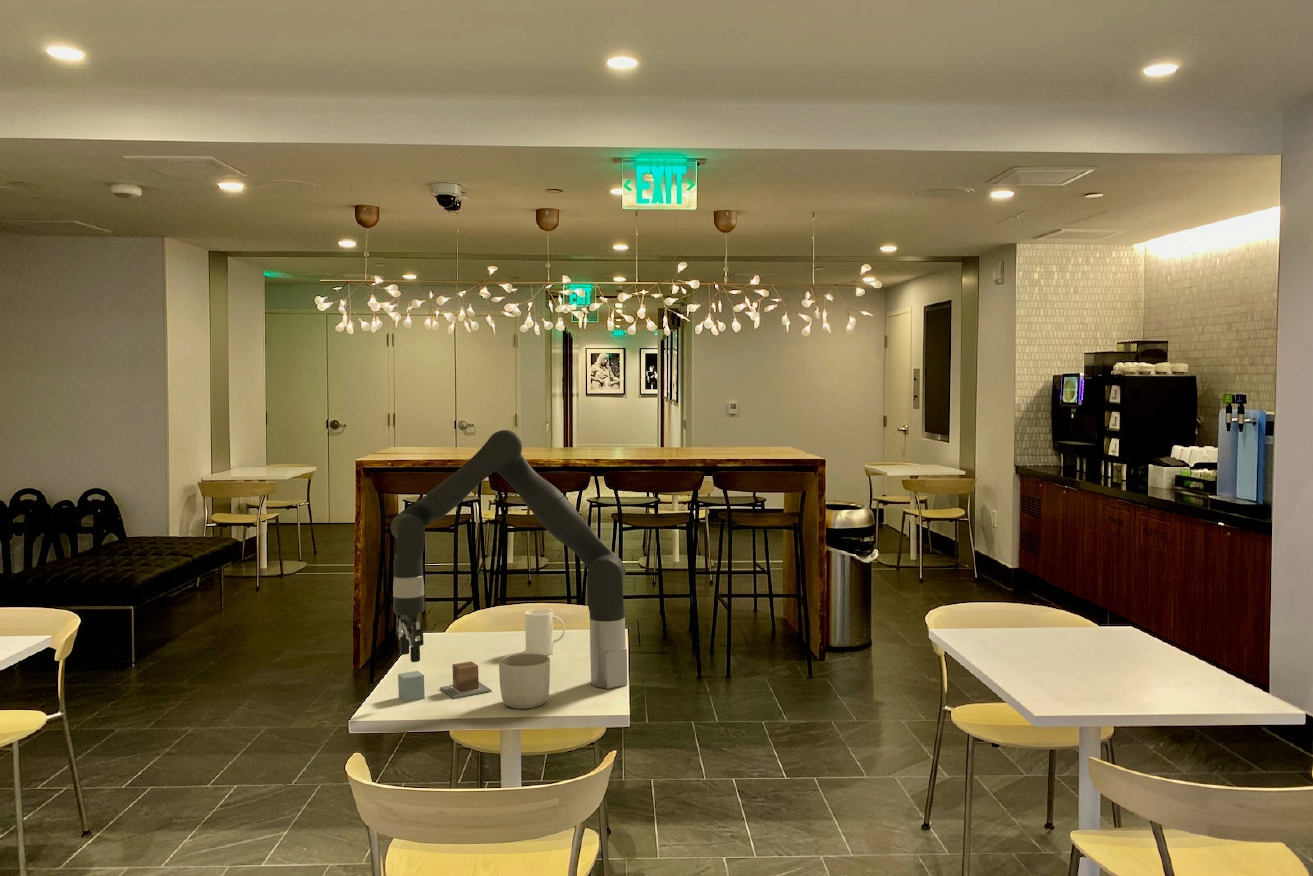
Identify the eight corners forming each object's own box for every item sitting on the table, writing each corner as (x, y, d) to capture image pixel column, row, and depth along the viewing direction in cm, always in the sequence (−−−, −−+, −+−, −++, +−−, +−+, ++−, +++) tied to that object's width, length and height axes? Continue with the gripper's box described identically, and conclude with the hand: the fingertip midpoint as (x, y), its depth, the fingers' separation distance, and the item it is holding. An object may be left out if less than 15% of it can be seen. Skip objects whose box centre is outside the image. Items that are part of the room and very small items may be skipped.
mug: (567, 648, 283) (566, 608, 283) (562, 656, 275) (562, 615, 274) (528, 648, 284) (527, 609, 284) (522, 656, 276) (521, 615, 275)
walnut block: (478, 688, 242) (478, 665, 242) (460, 692, 240) (459, 668, 240) (471, 684, 247) (470, 661, 246) (453, 687, 244) (452, 664, 244)
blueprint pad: (491, 691, 242) (491, 689, 242) (454, 698, 236) (453, 696, 236) (476, 682, 250) (476, 680, 250) (440, 689, 245) (440, 686, 245)
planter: (489, 704, 232) (488, 660, 231) (530, 693, 240) (529, 650, 240) (519, 715, 223) (518, 669, 222) (561, 703, 231) (560, 659, 231)
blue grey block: (424, 699, 237) (424, 675, 237) (404, 702, 234) (404, 678, 234) (418, 694, 241) (417, 670, 241) (398, 697, 239) (397, 674, 238)
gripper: (432, 596, 233) (433, 662, 234) (414, 587, 245) (415, 649, 246) (402, 600, 229) (403, 667, 230) (385, 590, 241) (386, 654, 242)
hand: (409, 658), depth 238 cm, fingers open, 8 cm apart
